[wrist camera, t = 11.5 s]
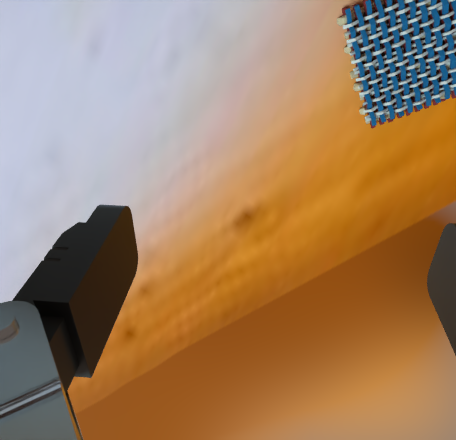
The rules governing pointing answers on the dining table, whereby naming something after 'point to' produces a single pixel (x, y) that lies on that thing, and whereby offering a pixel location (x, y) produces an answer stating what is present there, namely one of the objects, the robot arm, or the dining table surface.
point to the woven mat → (401, 55)
